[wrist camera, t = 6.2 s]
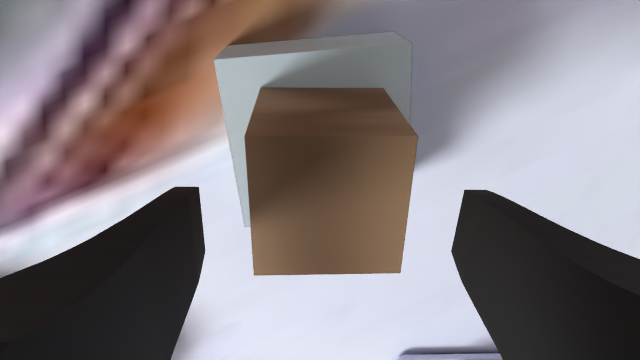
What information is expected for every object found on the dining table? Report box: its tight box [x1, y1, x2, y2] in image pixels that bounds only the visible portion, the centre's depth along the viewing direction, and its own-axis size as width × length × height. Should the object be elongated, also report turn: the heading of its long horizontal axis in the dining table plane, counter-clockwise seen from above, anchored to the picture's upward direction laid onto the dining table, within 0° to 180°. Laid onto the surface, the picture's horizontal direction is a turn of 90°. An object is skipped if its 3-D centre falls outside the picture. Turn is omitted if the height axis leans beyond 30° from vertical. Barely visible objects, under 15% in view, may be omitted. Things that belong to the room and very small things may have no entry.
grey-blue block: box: [214, 31, 412, 227], centre depth 18 cm, size 7×7×4 cm
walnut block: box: [244, 87, 418, 275], centre depth 14 cm, size 4×4×5 cm
